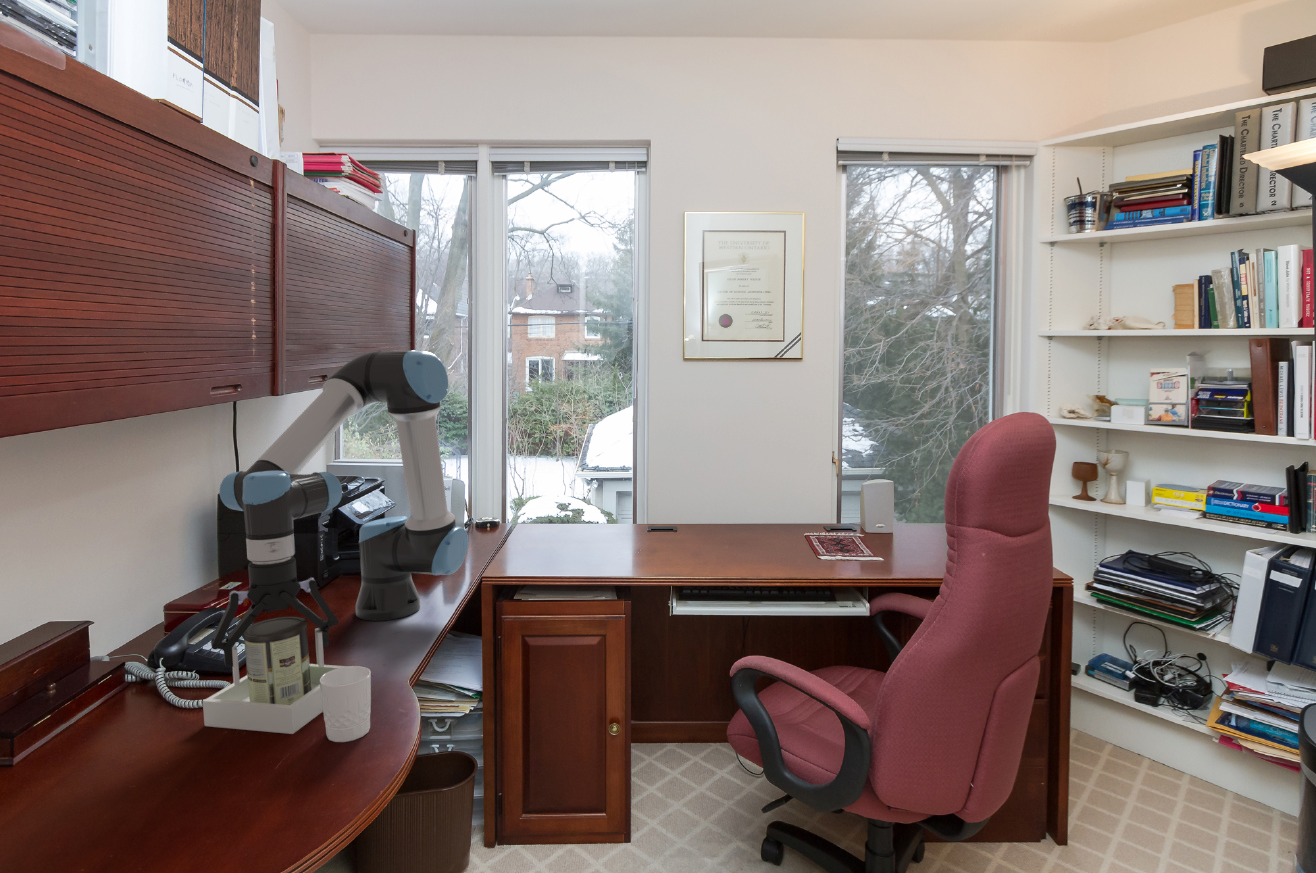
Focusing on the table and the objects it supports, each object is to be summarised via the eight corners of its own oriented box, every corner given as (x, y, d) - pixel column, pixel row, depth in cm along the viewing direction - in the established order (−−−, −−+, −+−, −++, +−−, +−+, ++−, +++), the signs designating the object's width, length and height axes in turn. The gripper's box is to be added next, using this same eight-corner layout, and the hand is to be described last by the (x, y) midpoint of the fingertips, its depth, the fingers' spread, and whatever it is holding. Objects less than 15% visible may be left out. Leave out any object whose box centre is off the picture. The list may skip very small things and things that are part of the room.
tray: (204, 725, 128) (202, 700, 127) (272, 683, 144) (271, 660, 144) (293, 733, 125) (291, 708, 124) (352, 689, 141) (350, 666, 141)
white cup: (322, 748, 120) (319, 689, 119) (323, 726, 127) (320, 670, 126) (374, 738, 123) (371, 680, 122) (372, 717, 130) (369, 662, 129)
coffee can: (281, 685, 141) (276, 613, 139) (325, 692, 138) (320, 619, 136) (234, 710, 131) (228, 633, 130) (280, 718, 128) (274, 639, 126)
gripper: (190, 576, 122) (200, 700, 124) (351, 552, 136) (357, 663, 138) (187, 565, 128) (197, 684, 130) (342, 543, 142) (348, 650, 144)
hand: (279, 673), depth 134 cm, fingers open, 13 cm apart
